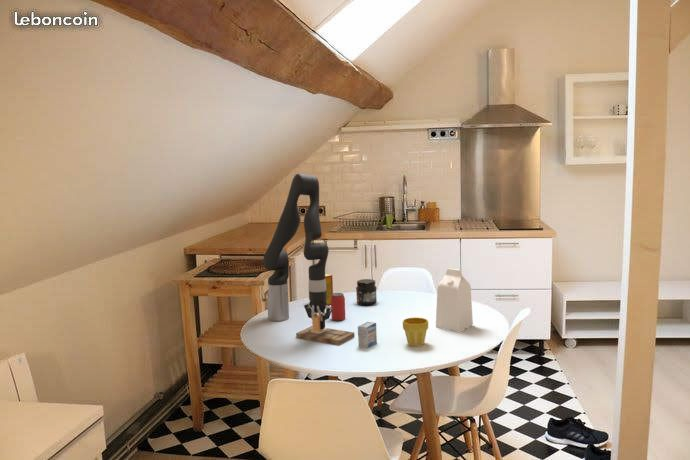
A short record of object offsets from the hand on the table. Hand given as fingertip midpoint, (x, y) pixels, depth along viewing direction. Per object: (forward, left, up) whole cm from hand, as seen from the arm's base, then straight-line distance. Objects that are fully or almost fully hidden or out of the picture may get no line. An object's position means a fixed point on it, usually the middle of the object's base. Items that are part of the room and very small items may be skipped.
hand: (319, 328), depth 262 cm
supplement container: (-9, +56, -4) cm, 57 cm away
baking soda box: (-29, +45, -4) cm, 54 cm away
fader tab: (0, 0, -1) cm, 1 cm away
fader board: (+3, 0, -4) cm, 5 cm away
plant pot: (+41, +10, -4) cm, 42 cm away
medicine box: (+24, 0, -4) cm, 24 cm away
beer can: (-7, +26, -4) cm, 27 cm away
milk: (+46, +39, -4) cm, 61 cm away
